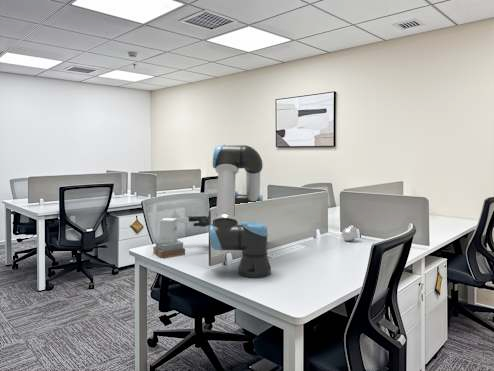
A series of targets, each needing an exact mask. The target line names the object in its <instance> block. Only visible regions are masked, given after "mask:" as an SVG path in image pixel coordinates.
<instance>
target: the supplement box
mask: <svg viewBox="0 0 494 371" xmlns="http://www.w3.org/2000/svg"><path fill="white" fill-rule="evenodd" d="M159 234H160V235H159V236H160V238H159V241H160V243H165V244H173V243H174V242H176V241H177V240H178V217H175V218H174V217H164V218H162V219H160V220H159Z"/></svg>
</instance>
